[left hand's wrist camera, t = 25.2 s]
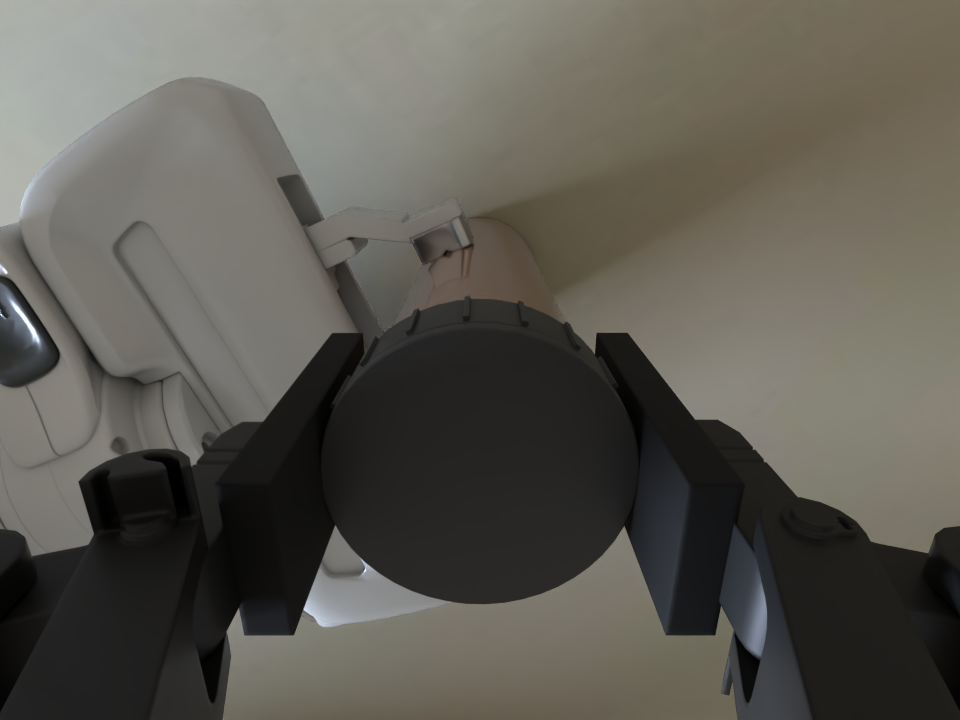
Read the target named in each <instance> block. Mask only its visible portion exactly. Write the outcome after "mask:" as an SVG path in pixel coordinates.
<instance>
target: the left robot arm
mask: <svg viewBox="0 0 960 720" xmlns="http://www.w3.org/2000/svg"><path fill="white" fill-rule="evenodd" d="M364 354H365V352H364V340H363V333H332V334H331V335H330V336H329V338H328V339H327V340H326V341H325V343H324V344H323V345H322V347H321V348H320V349H319V350H318V352H317V353H316V354H315V356H314V357H313V358H312V359H311V361H310V362H309V363H308V365H307V366H306V367H305V368H304V370H303V371H302V372H301V374H300V375H299V376H298V377H297V379H296V380H295V381H294V383H293V384H292V385H291V386H290V388H289V389H288V390H287V392H286V393H285V394H284V395H283V397H282V398H281V399H280V401H279V402H278V403H277V404H276V406H275V407H274V408H273V410H272V411H271V412H270V413H269V415H268V416H267V417H266V419H265V420H264V421H263V422H241V423H239V424H237V425H236V426H234V427H232V428H231V429H229V430H227V431H225V432H224V433H222V434H220V436H219V437H218V438H217V439H216V440H215V441H214V442H213V443H212V444H211V446H210V447H209V448H208V449H207V450H208V451H207V452H204V453H203V455H202V456H201V457H200V458H199V459H198V460H197V463H196V465H193V466H192V467H191V462H190V458H189V457H188V456H187V455H186V454H184V453H183V452H182V451H178V450H172V449H167V448H165V449H147V450H142V451H137V452H132V453H127V454H124V455H122V456H119V457H116V458H113V459H111V460H108V461H106V462H104V463H102V464H100V465H99V466H97V467H95V468H93V469H91V470H90V471H88V472H87V473H86V474H85V475H84V476H83V477H82V478H81V479H80V480H79V481H78V483H79V486H80V489H81V493H82V496H83V499H84V503H85V506H86V509H87V513H88V516H89V519H90V523H91V526H92V529H93V533H94V535H93V537H92V539H91V541H90V543H89V544H88V545H85V546H81V547H76V548H71V549H66V550H61V551H56V552H50V553H45V554H40V555H35V556H32V555H31V552H30V549H29V546H28V544H27V541H26V538H25V537H24V536H23V535H22V534H20V533H19V532H17V531H15V530H5V529H0V720H223V712H224V705H225V697H226V690H227V682H228V675H229V667H230V660H231V653H230V646H229V641H228V636H227V629H228V627H229V625H230V624H231V622H232V620H233V618H234V616H235V614H236V612H237V610H238V608H239V610H240V615H241V620H242V625H243V630H244V635H294V633H295V631H296V628H297V625H298V623H299V620H300V617H301V615H302V612H303V609H304V607H305V604H306V602H307V599H308V596H309V594H310V591H311V588H312V586H313V583H314V580H315V578H316V575H317V572H318V570H319V567H320V564H321V562H322V559H323V557H324V554H325V551H326V549H327V546H328V543H329V541H330V538H331V535H332V533H333V530H334V527H335V524H334V522H333V520H332V518H331V516H330V513H329V511H328V508H327V506H326V503H325V499H324V495H323V487H322V479H321V470H320V451H321V445H322V440H323V436H324V431H325V428H326V426H327V423H328V421H329V418H330V416H331V413H332V411H333V409H331V408H330V407H331V404H332V402H333V401H334V399H335V397H336V395H337V394H338V392H339V390H340V388H341V387H342V385H343V383H344V381H345V380H346V378H347V376H348V375H349V376H352V375H353V373H354V371H355V369H356V368H357V366H358V364H359V363H360V361H361V359H362V357H363V355H364ZM595 356H596V357H597V358H599V357H600V356H601V357H602V359H603V360H604V362H605V364H606V365H607V367H608V369H609V371H610V372H611V374H612V376H613V378H614V379H615V381H616V383H617V385H618V386H619V387H618V388H616V389H615V390H616V392H617V394H618V396H619V397H620V399H621V401H622V403H623V405H624V407H625V409H626V411H627V413H628V415H629V417H630V419H631V421H632V424H633V425H634V427H635V429H636V431H635V434H636V437H637V443H638V449H639V456H640V464H639V476H638V484H637V492H636V497H635V500H634V504H633V507H632V510H631V512H630V514H629V516H628V519H627V521H626V523H625V525H624V526H625V528H626V531H627V534H628V536H629V539H630V541H631V544H632V547H633V549H634V552H635V555H636V557H637V560H638V563H639V565H640V568H641V571H642V573H643V576H644V579H645V581H646V584H647V586H648V589H649V592H650V594H651V597H652V600H653V602H654V605H655V608H656V610H657V613H658V616H659V618H660V621H661V624H662V626H663V629H664V632H665V634H666V635H715V633H716V628H717V623H718V618H719V613H720V608H721V606H722V608H723V610H724V612H725V614H726V615H727V617H728V619H729V621H730V623H731V625H732V627H733V629H734V631H733V636H732V641H731V645H730V650H729V655H728V659H727V664H726V669H725V673H724V678H723V684H722V691H721V694H725V695H729V694H730V689H731V685H732V682H733V688H734V696H735V703H736V711H737V718H738V720H960V526H958V527H948V528H943V529H942V530H941V531H939V532H938V533H936V534H935V537H934V539H933V542H932V545H931V548H930V551H929V554H928V553H923V552H918V551H913V550H908V549H903V548H897V547H892V546H887V545H882V544H878V543H874V542H871V541H870V540H869V538H868V536H867V534H866V533H865V531H864V530H863V529H862V528H861V527H860V525H859V524H858V523H857V522H856V521H855V520H853V519H852V518H850V517H849V516H847V515H846V514H844V513H843V512H841V511H840V510H837V509H835V508H833V507H830V506H828V505H826V504H823V503H821V502H817V501H813V500H809V499H805V498H801V497H797V496H796V495H795V494H794V493H793V491H792V490H791V489H790V488H789V487H788V486H787V485H786V484H785V483H784V481H783V480H782V479H781V478H780V477H779V476H778V475H777V474H776V473H775V471H774V470H773V469H772V468H771V467H770V466H769V465H768V464H767V463H766V462H764V461H763V460H764V459H763V458H762V457H761V456H760V455H759V454H758V452H757V451H756V450H753V447H752V446H751V445H750V444H749V442H748V441H747V440H746V439H745V438H744V437H743V436H742V435H741V434H740V432H738V431H736V430H735V429H733V428H731V427H729V426H728V425H726V424H724V423H722V422H721V421H719V420H695V419H694V418H693V416H692V415H691V414H690V413H689V411H688V410H687V409H686V407H685V406H684V405H683V404H682V402H681V401H680V400H679V398H678V397H677V396H676V395H675V393H674V392H673V391H672V389H671V388H670V387H669V386H668V384H667V383H666V382H665V380H664V379H663V378H662V377H661V375H660V374H659V373H658V371H657V370H656V369H655V368H654V366H653V365H652V364H651V362H650V361H649V360H648V359H647V357H646V356H645V355H644V353H643V352H642V351H641V350H640V348H639V347H638V346H637V344H636V343H635V342H634V341H633V339H632V338H631V337H630V335H629V334H628V333H597V335H596V348H595Z"/></svg>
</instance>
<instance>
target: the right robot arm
mask: <svg viewBox="0 0 960 720" xmlns="http://www.w3.org/2000/svg"><path fill="white" fill-rule="evenodd" d="M19 219H20V222H17V223H13V224H10V225H6V226H3V227H0V529H5V530H15V531H17V532H19V533H20V534H22V535H23V536H24V537H25V538H26V541H27V544H28V546H29V549H30V552H31V555H32V556H35V555H40V554H45V553H50V552H56V551H61V550H66V549H71V548H76V547H81V546H85V545H88V544H89V543H90V541H91V539H92V537H93V535H94V533H93V529H92V526H91V523H90V519H89V516H88V513H87V509H86V506H85V503H84V499H83V496H82V493H81V489H80V486H79V483H78V481H79V480H80V479H81V478H82V477H83V476H84V475H85V474H86V473H87V472H88V471H90V470H91V469H93V468H95V467H97V466H99V465H100V464H102V463H104V462H106V461H108V460H111V459H113V458H116V457H119V456H122V455H124V454H127V453H132V452H137V451H142V450H147V449H165V448H167V449H172V450H178V451H182V452H183V453H184V454H186V455H187V456H188V457H189V458H190V462H191V467H192V466H193V465H196V463H197V460H198V459H199V458H200V457H201V456H202V455H203V453H204V452H207V451H208V450H207V449H208V448H209V447H210V446H211V444H212V443H213V442H214V441H215V440H216V439H217V438H218V437H219V436H220V434H222V433H224V432H225V431H227V430H229V429H231V428H232V427H234V426H236V425H237V424H239V423H241V422H263V421H264V420H265V419H266V417H267V416H268V415H269V413H270V412H271V411H272V410H273V408H274V407H275V406H276V404H277V403H278V402H279V401H280V399H281V398H282V397H283V395H284V394H285V393H286V392H287V390H288V389H289V388H290V386H291V385H292V384H293V383H294V381H295V380H296V379H297V377H298V376H299V375H300V374H301V372H302V371H303V370H304V368H305V367H306V366H307V365H308V363H309V362H310V361H311V359H312V358H313V357H314V356H315V354H316V353H317V352H318V350H319V349H320V348H321V347H322V345H323V344H324V343H325V341H326V340H327V339H328V338H329V336H330V335H331V334H332V333H363V340H364V352H366V350H367V348H368V346H369V345H370V343H371V341H372V339H373V338H374V337H375V336H376V337H377V338H378V339H379V338H380V337H381V336H382V335H383V334H384V333H383V331H382V329H381V327H380V325H379V323H378V321H377V319H376V317H375V315H374V313H373V311H372V310H371V308H370V306H369V304H368V302H367V300H366V298H365V296H364V294H363V292H362V290H361V288H360V286H359V284H358V283H357V281H356V279H355V277H354V275H353V273H352V271H351V269H350V267H349V265H348V263H347V261H346V260H347V259H349V258H351V257H354V256H355V255H356V254H357V253H358V252H360V251H361V250H362V249H363V248H364V247H365V246H366V245H367V243H368V240H367V239H374V240H384V241H395V242H405V243H411V242H412V244H413V246H414V248H415V250H416V252H417V254H418V256H419V258H420V260H421V262H422V264H423V265H425V264H428V263H430V262H432V261H435V260H437V259H439V258H440V257H442V256H443V254H444V253H445V251H446V250H447V251H452V252H454V251H457V250H460V249H462V248H464V247H466V246H468V245H470V244H471V243H473V238H474V237H473V235H472V232H471V230H470V227H469V225H468V222H467V220H466V218H465V215H464V213H463V211H462V208H461V206H460V203H459V201H458V199H457V197H455V198H452V199H449V200H446V201H444V202H442V203H440V204H437V205H435V206H433V207H431V208H428V209H426V210H424V211H422V212H420V213H417V214H415V215H413V216H411V217H409V215H408V214H406V213H398V212H390V211H382V210H374V209H366V208H358V207H350V208H348V209H346V210H344V211H341V212H339V213H337V214H335V215H333V216H331V217H328V218H326V219H324V217H323V215H322V213H321V211H320V209H319V207H318V205H317V203H316V201H315V200H314V198H313V196H312V194H311V192H310V190H309V188H308V186H307V184H306V182H305V180H304V178H303V176H302V174H301V173H300V171H299V169H298V167H297V165H296V163H295V161H294V159H293V157H292V155H291V153H290V151H289V149H288V148H287V146H286V144H285V142H284V140H283V138H282V136H281V134H280V132H279V130H278V128H277V126H276V124H275V122H274V120H273V118H272V116H271V114H270V112H269V111H268V109H267V107H266V105H265V104H264V102H263V101H262V100H261V99H260V98H259V97H258V96H257V95H255V94H253V93H251V92H248V91H246V90H243V89H241V88H238V87H236V86H233V85H230V84H227V83H224V82H221V81H218V80H213V79H208V78H201V77H187V78H181V79H177V80H174V81H171V82H168V83H166V84H164V85H162V86H160V87H158V88H156V89H154V90H152V91H151V92H149V93H147V94H145V95H144V96H142V97H140V98H138V99H137V100H135V101H133V102H132V103H130V104H128V105H127V106H125V107H123V108H122V109H120V110H119V111H117V112H115V113H114V114H112V115H111V116H109V117H108V118H106V119H105V120H103V121H102V122H100V123H99V124H97V125H96V126H95V127H93V128H92V129H90V130H89V131H88V132H86V133H85V134H83V135H82V136H81V137H79V138H78V139H77V140H75V141H74V142H73V143H72V144H70V145H69V146H68V147H66V148H65V149H64V150H63V151H61V152H60V153H59V154H58V155H56V156H55V157H54V158H53V159H52V160H50V161H49V162H48V163H47V164H46V165H45V166H44V167H43V168H42V169H41V170H40V171H39V172H38V173H37V174H36V176H35V177H34V178H33V180H32V181H31V183H30V184H29V186H28V188H27V190H26V192H25V194H24V196H23V200H22V203H21V207H20V218H19ZM449 603H452V602H449V601H444V600H439V599H435V598H431V597H427V596H424V595H422V594H419V593H416V592H413V591H410V590H408V589H406V588H404V587H402V586H400V585H398V584H396V583H394V582H392V581H390V580H389V579H387V578H386V577H384V576H382V575H381V574H379V573H378V572H376V571H375V570H374V569H373V568H371V567H370V566H369V565H368V564H366V563H365V562H364V561H363V560H362V559H361V558H360V557H359V556H358V555H357V554H356V553H355V552H354V551H353V550H352V549H351V547H350V546H349V545H348V544H347V542H346V541H345V540H344V538H343V537H342V536H341V534H340V533H339V531H338V529H337V527H336V525H335V527H334V530H333V533H332V535H331V538H330V541H329V543H328V546H327V549H326V551H325V554H324V557H323V559H322V562H321V564H320V567H319V570H318V572H317V575H316V578H315V580H314V583H313V586H312V588H311V591H310V594H309V596H308V599H307V602H306V604H305V607H304V609H303V612H302V615H301V616H303V617H305V618H307V619H309V620H311V621H314V622H317V623H319V625H321V626H323V627H335V626H340V625H343V624H346V623H358V622H367V621H372V620H378V619H384V618H389V617H394V616H399V615H404V614H409V613H414V612H418V611H422V610H426V609H430V608H434V607H438V606H442V605H445V604H449Z"/></svg>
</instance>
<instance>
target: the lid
mask: <svg viewBox="0 0 960 720" xmlns="http://www.w3.org/2000/svg"><path fill="white" fill-rule="evenodd" d="M618 387H619V386H618V385H617V383H616V381H615V379H614V378H613V376H612V374H611V372H610V371H609V369H608V367H607V365H606V364H605V362H604V360H603V359H602V357H601V356H600V357H599V358H597V357H596V356H595V354H594V353H593V351H592V350H591V349H590V348H589V347H588V346H587V345H586V343H585V342H584V341H583V340H582V339H581V338H580V337H579V336H578V335H577V334H575V333H574V331H573V329H572V327H571V325H570V324H569V323H567V322H565V323H564V324H562V323H561V322H559V321H557V320H556V319H554V318H553V317H551V316H549V315H547V314H545V313H542V312H540V311H538V310H536V309H533V308H531V307H527V306H524V302H523V301H519V300H518V303H514V302H508V301H502V300H495V299H470V296H465V298H464V300H456V301H451V302H447V303H443V304H438V305H435V306H432V307H429V308H427V309H424V310H421V311H420V310H419V308H417V309H415V310H413V313H412V315H411V316H409V317H407V318H405V319H403V320H401V321H400V322H399V323H397V324H396V325H394V326H393V327H392V328H390V329H389V330H387V331H386V332H385V333H384V334H383V335H382V336H381V337H380V338H379V339H378V338H377V337H376V336H375V337H374V338H373V339H372V341H371V343H370V345H369V346H368V348H367V350H366V352H365V354H364V355H363V357H362V359H361V361H360V363H359V364H358V366H357V368H356V369H355V371H354V373H353V375H352V376H349V375H348V376H347V378H346V380H345V381H344V383H343V385H342V387H341V388H340V390H339V392H338V394H337V395H336V397H335V399H334V401H333V402H332V404H331V407H330V408H331V409H333V411H332V413H331V416H330V418H329V421H328V423H327V426H326V428H325V431H324V436H323V440H322V445H321V451H320V470H321V479H322V487H323V495H324V499H325V503H326V506H327V508H328V511H329V513H330V516H331V518H332V520H333V522H334V524H335V525H336V527H337V529H338V531H339V533H340V534H341V536H342V537H343V538H344V540H345V541H346V542H347V544H348V545H349V546H350V547H351V549H352V550H353V551H354V552H355V553H356V554H357V555H358V556H359V557H360V558H361V559H362V560H363V561H364V562H365V563H366V564H368V565H369V566H370V567H371V568H373V569H374V570H375V571H376V572H378V573H379V574H381V575H382V576H384V577H386V578H387V579H389V580H390V581H392V582H394V583H396V584H398V585H400V586H402V587H404V588H406V589H408V590H410V591H413V592H416V593H419V594H422V595H424V596H427V597H431V598H435V599H439V600H444V601H449V602H457V603H465V604H493V603H504V602H510V601H515V600H521V599H525V598H528V597H532V596H535V595H538V594H541V593H544V592H546V591H549V590H551V589H553V588H556V587H558V586H560V585H562V584H564V583H565V582H567V581H569V580H571V579H573V578H574V577H576V576H577V575H579V574H580V573H581V572H583V571H584V570H586V569H587V568H588V567H590V566H591V565H592V564H593V563H594V562H595V561H596V560H597V559H598V558H600V557H601V556H602V555H603V554H604V552H605V551H606V550H607V549H608V548H609V547H610V545H611V544H612V543H613V542H614V541H615V539H616V538H617V536H618V534H619V533H620V531H621V530H622V528H623V527H624V525H625V523H626V521H627V519H628V516H629V514H630V512H631V510H632V507H633V504H634V500H635V497H636V492H637V484H638V476H639V464H640V456H639V449H638V443H637V437H636V434H635V431H636V429H635V427H634V425H633V424H632V421H631V419H630V417H629V415H628V413H627V411H626V409H625V407H624V405H623V403H622V401H621V399H620V397H619V396H618V394H617V392H616V390H615V389H616V388H618Z"/></svg>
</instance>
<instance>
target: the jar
mask: <svg viewBox="0 0 960 720" xmlns="http://www.w3.org/2000/svg"><path fill="white" fill-rule="evenodd" d="M466 220H467V222H468V225H469V227H470V230H471V232H472V235H473V237H474V238H473V243H471V244H470V245H468V246H466V247H464V248H462V249H460V250H457V251H454V252H452V251H447V250H446V251H445V253H444V254H443V256H442V257H440V258H439V259H437V260H435V261H432V262H430V263H428V264H425V265H423V264H422V266H421V268H420V270H419V272H418V274H417V276H416V278H415V280H414V282H413V284H412V286H411V289H410V291H409V293H408V295H407V297H406V299H405V301H404V303H403V305H402V307H401V309H400V312H399V314H398V316H397V318H396V320H395V322H394V324H393V326H394V325H396V324H397V323H399V322H400V321H401V320H403V319H405V318H407V317H409V316H411V315H412V313H413V310H415V309H417V308H419V310H420V311H421V310H424V309H427V308H429V307H432V306H435V305H438V304H443V303H447V302H451V301H456V300H464V298H465V296H470V299H495V300H502V301H508V302H514V303H518V300H519V301H523V302H524V306H527V307H531V308H533V309H536V310H538V311H540V312H542V313H545V314H547V315H549V316H551V317H553V318H554V319H556V320H557V321H559V322H561V323H562V324H564V323H565V321H564V319H563V316H562V314H561V312H560V310H559V308H558V306H557V304H556V302H555V300H554V298H553V296H552V293H551V291H550V289H549V287H548V285H547V283H546V281H545V279H544V277H543V275H542V273H541V270H540V268H539V266H538V264H537V262H536V260H535V258H534V256H533V254H532V252H531V250H530V247H529V246H528V244H527V243H526V241H525V240H524V239H523V237H522V236H521V235H520V234H519V233H518V232H517V231H516V230H514V229H513V228H511V227H510V226H508V225H506V224H504V223H502V222H500V221H497V220H493V219H489V218H471V219H466ZM393 326H392V327H393Z"/></svg>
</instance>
